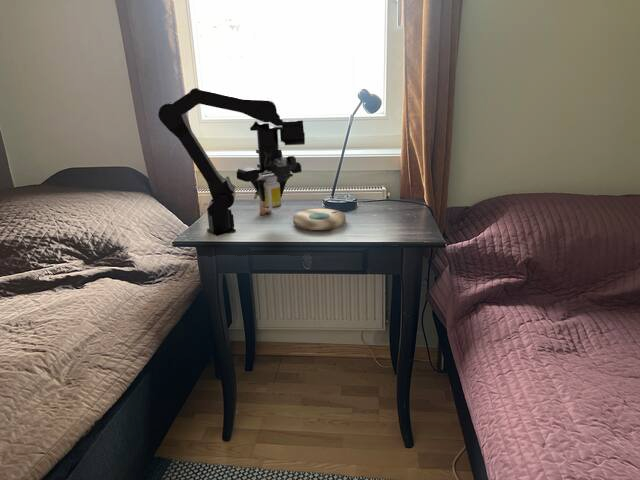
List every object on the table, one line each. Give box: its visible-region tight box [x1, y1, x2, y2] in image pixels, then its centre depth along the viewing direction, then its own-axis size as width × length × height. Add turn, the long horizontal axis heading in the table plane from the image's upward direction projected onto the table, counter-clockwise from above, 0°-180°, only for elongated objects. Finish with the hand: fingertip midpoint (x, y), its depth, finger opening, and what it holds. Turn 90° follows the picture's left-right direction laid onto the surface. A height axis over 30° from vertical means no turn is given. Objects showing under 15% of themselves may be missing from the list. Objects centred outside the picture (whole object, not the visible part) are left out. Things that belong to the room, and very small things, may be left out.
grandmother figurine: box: [253, 175, 273, 216], centre depth 151 cm, size 8×4×13 cm, turn 129°
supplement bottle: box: [262, 173, 282, 211], centre depth 134 cm, size 5×5×10 cm
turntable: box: [292, 208, 347, 231], centre depth 140 cm, size 16×16×2 cm
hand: (271, 199), depth 135 cm, fingers closed on supplement bottle, 5 cm apart
